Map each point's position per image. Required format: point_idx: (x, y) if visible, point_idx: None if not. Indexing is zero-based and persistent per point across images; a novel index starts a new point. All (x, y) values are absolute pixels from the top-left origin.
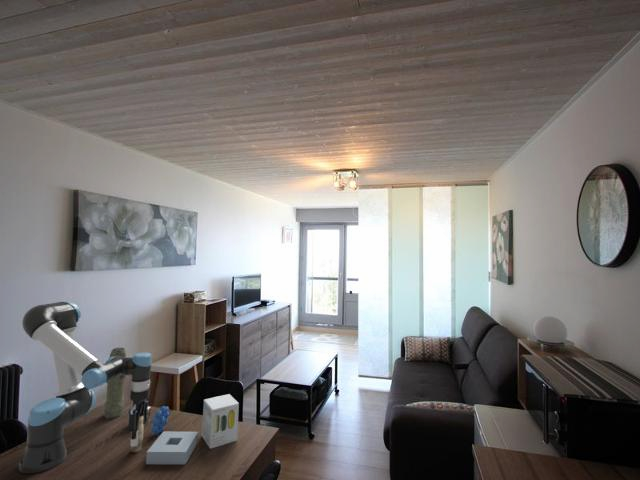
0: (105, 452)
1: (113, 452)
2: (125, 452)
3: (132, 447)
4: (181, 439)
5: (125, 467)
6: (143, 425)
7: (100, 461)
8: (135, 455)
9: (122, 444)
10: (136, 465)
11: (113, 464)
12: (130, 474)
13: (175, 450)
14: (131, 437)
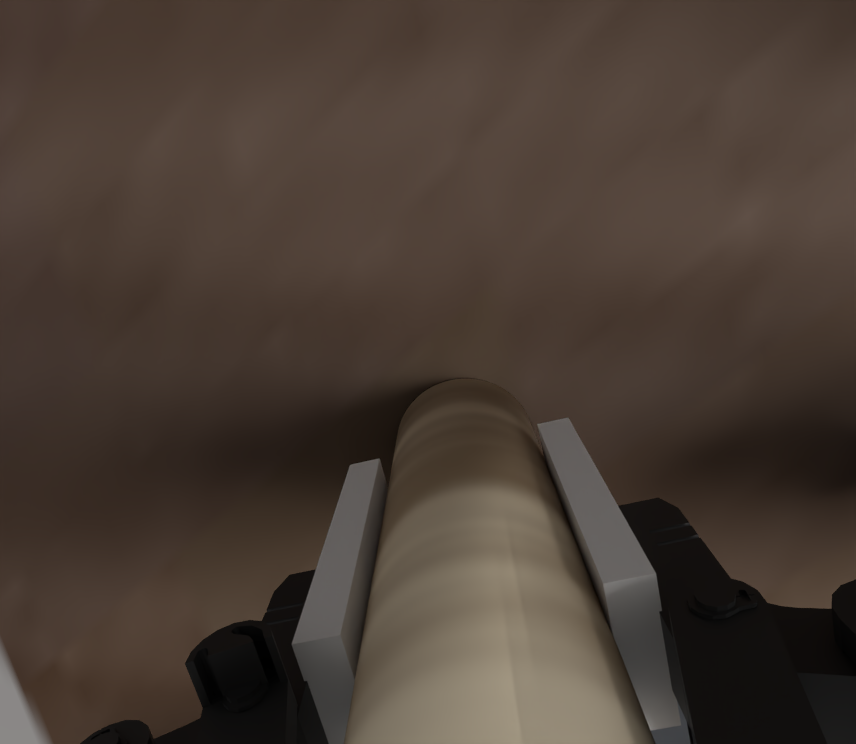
0: (276, 15)
1: (316, 155)
2: (369, 340)
3: (394, 457)
4: None
5: (101, 577)
6: (656, 717)
7: (66, 150)
8: None
9: (552, 115)
10: (180, 666)
11: (88, 392)
12: (29, 709)
13: None
14: (272, 607)
